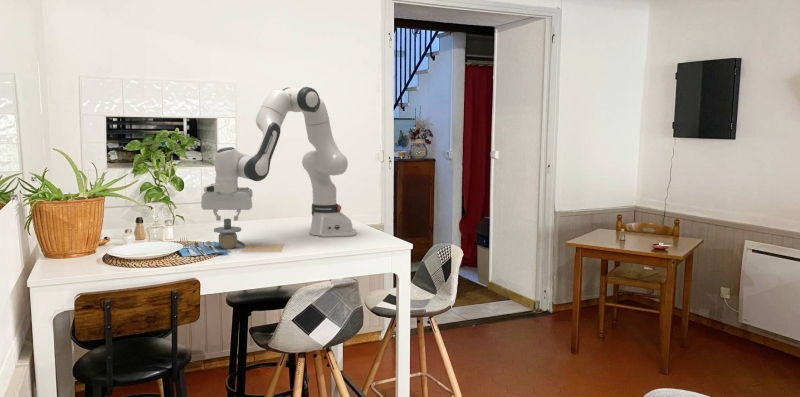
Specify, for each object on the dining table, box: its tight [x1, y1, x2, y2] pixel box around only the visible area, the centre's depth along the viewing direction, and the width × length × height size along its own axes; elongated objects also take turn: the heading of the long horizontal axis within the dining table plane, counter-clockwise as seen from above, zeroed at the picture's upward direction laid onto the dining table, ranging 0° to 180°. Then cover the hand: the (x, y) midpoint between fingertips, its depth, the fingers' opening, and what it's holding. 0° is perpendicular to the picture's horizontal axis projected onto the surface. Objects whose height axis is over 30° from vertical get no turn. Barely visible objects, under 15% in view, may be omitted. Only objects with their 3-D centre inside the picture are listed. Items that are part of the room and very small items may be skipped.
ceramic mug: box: [218, 232, 246, 250], centre depth 255 cm, size 11×8×8 cm
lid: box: [213, 218, 242, 234], centre depth 254 cm, size 11×11×5 cm
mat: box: [240, 243, 286, 253], centre depth 255 cm, size 16×16×1 cm
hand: (227, 220), depth 254 cm, fingers open, 6 cm apart
